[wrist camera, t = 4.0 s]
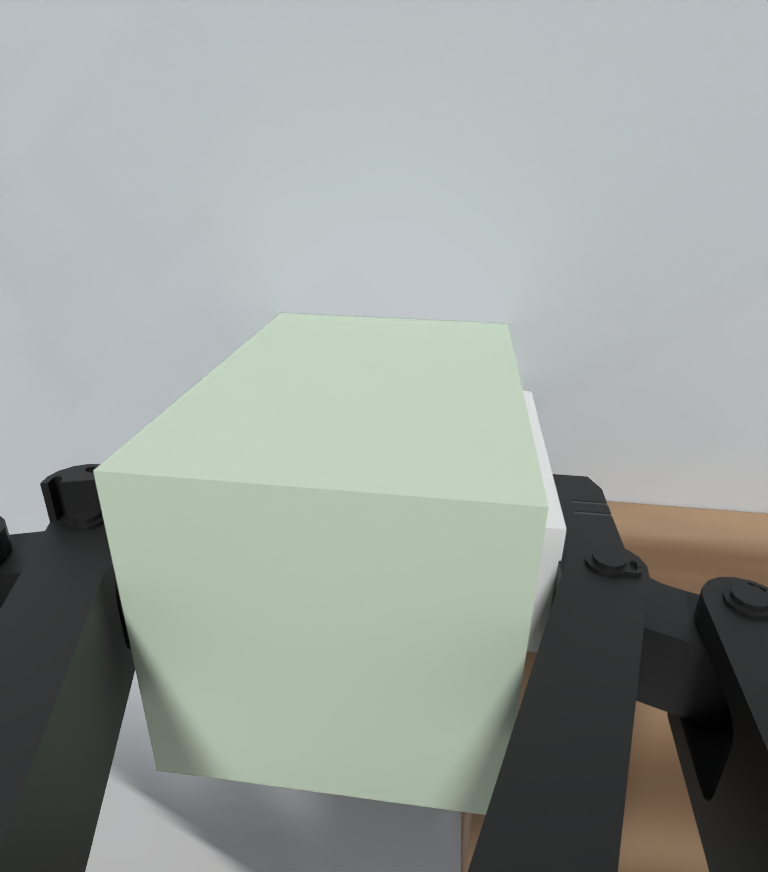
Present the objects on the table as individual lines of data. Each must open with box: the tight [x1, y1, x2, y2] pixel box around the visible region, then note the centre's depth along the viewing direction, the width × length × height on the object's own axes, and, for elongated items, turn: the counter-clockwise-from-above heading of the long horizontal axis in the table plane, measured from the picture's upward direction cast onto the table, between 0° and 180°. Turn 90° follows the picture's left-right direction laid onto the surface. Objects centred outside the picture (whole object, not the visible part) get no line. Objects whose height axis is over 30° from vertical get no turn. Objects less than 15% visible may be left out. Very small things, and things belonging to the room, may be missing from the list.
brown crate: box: [461, 501, 768, 872], centre depth 17 cm, size 12×12×5 cm
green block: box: [93, 313, 549, 815], centre depth 13 cm, size 6×6×9 cm
